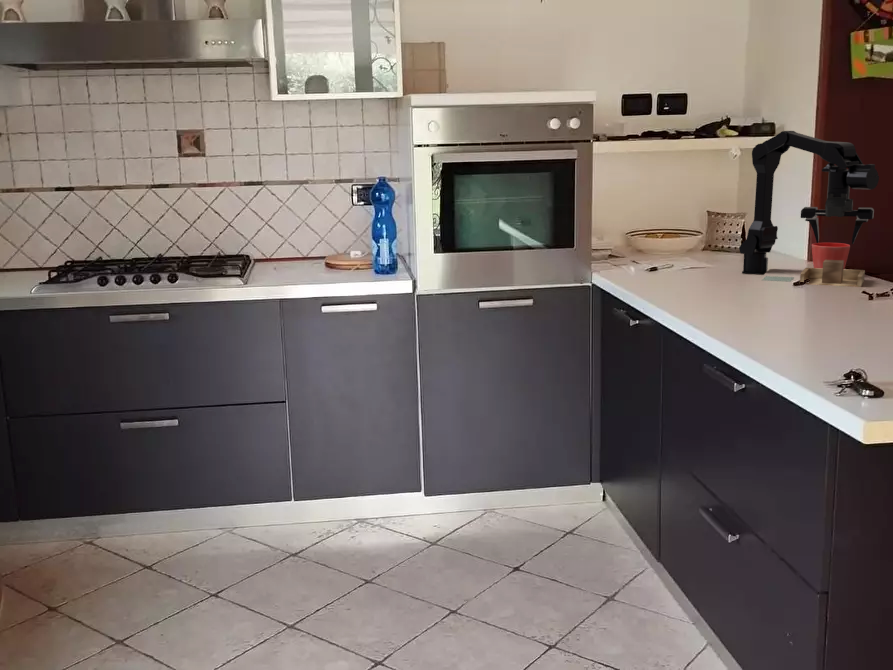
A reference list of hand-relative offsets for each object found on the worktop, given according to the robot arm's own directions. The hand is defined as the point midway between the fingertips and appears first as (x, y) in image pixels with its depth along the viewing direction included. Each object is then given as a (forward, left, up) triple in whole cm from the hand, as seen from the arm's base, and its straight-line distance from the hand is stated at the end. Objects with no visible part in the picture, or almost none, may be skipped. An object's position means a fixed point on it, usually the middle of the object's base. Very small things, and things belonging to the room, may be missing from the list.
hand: (834, 243), depth 257 cm
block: (0, 0, -11) cm, 11 cm away
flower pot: (-2, +14, -12) cm, 18 cm away
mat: (-15, +1, -12) cm, 19 cm away
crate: (0, 0, -12) cm, 12 cm away
